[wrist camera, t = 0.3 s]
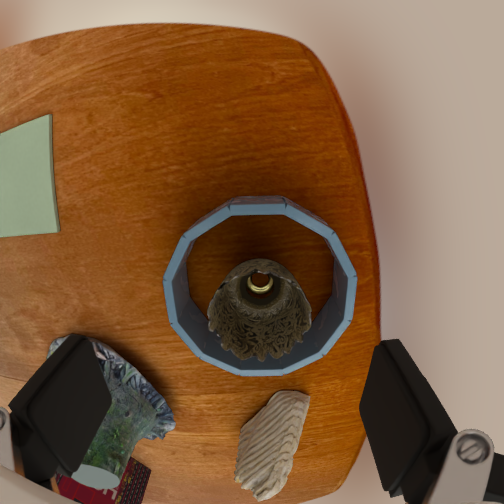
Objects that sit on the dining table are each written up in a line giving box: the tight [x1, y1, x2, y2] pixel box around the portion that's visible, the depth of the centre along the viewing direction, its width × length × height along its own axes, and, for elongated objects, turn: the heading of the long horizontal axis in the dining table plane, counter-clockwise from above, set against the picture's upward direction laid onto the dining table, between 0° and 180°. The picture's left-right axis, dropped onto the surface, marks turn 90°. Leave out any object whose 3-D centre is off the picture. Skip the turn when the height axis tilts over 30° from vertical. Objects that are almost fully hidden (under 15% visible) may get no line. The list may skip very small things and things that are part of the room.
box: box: [54, 457, 151, 504], centre depth 30 cm, size 16×9×20 cm, turn 38°
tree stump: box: [46, 334, 176, 489], centre depth 28 cm, size 18×20×18 cm
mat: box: [0, 114, 60, 237], centre depth 25 cm, size 13×13×1 cm
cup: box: [207, 258, 312, 362], centre depth 24 cm, size 8×7×8 cm
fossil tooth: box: [234, 391, 310, 501], centre depth 29 cm, size 12×6×15 cm
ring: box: [163, 195, 357, 376], centre depth 26 cm, size 16×16×5 cm
